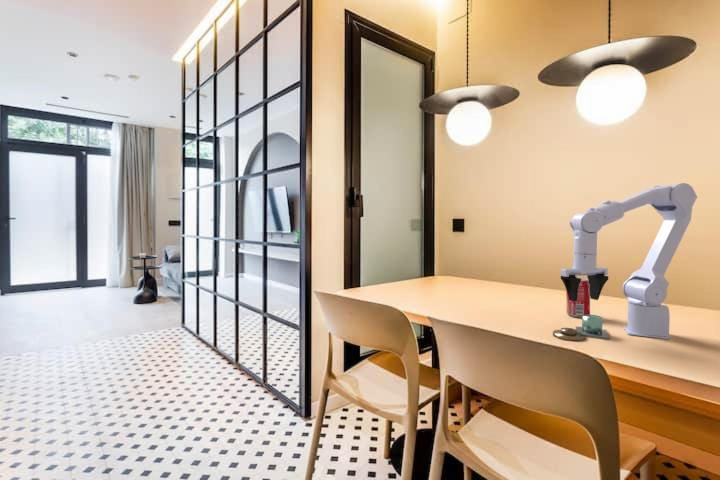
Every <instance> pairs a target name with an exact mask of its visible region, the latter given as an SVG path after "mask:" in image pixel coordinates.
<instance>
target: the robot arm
mask: <svg viewBox="0 0 720 480" xmlns="http://www.w3.org/2000/svg"><path fill="white" fill-rule="evenodd" d="M697 198H698V196H697V193H696V191H695V190H694V187H692V185H691V184H689V183H686V182H681V183H680V182H679V183H676V184H669V185H657V186H653V187H650V188H646V189H644V190H642V191H640V192H637V193H636V194H633V195H632V196H630V197H627V198H625V199H622V200H621V201H619V202H618V201H615V200H605V201H602V204H600V205H598V206H596V207H589V208H587V211H586V212H578V213H576V214H574V216H573V217H572V218H571V221H570V222H569V225H570V228H571V230H572V231H573V260H572V261H573V262H572V263H573V265H572V266H571V268H561V269H560V280H561V281H562V283H563V285H564V287H565V291H566V290H567V293H568V297H569V300H571V301H577V296H578V287H579V284H580V282H581V279H579V278H580V277H579V276H586V277H587V279H588V281H589V285H590V300H594V301H599V299H600V295H601V293H602V291H603V288H604V286H605V284H606V283H607V281H608V280H609V276H608V272H609V269H608V268H607V267H597V258H598V257H597V253H598V252H597V251H598V232H599V231H600V230H601V229H602V228H603V227H604V226H607V225H609V224H612V223H613V222H616V221H619V220H621V219H623V217H624V216H625V213H627V212H631V211H632V210H635V209H638V208H641V207H644V206H646V205H650V206H651V207H652V208H653V209H654V210H655V211H656V213H658V214H659V215H660V216H661V217H662V219H663V222H662V224H661V225H660V226H661V227H660V228H659V231H658V232H657V235H656V236H655V238H654V241H653V243H652V244H651V247H650V249H649V251H648V253H647V256H646V257H645V260H644V262H643V264H642V266H641V268H639V269H637V270H635V271H634V272H632V273H631V274H630V276H629V278H628V279H626V280H625V281H624V282H623V285H622V288H621V289H622V293H623V295H624V296H625V297H626V301H627V325H625V326H623V328H624V330H625V331H626V334H627V335H630V336H638V337H639V336H640V337H647V338H648V337H649V338H657V339H662V340H663V339H665V340H669V339H670V323H671V322H670V318H671V317H670V308H669V306H668V305H666V304H663V303H664V302H665V300H666V298H667V296H668V293H667V292H668V287H669V285H670V282H669V281H668V280H667V279H666V277H665V273H666V272H667V270H668V268H669V265H670V263H671V262H672V260H673V257H674V256H675V254H676V251H677V249H678V247H679V245H680V243H681V242H682V241H681V240H682V239H683V237H684V235H685V233H686V230H687V228H688V227H689V225H690V223H691V220H692V214H693V213H692V212H693V207H694V204H695V202H696V201H697Z"/></svg>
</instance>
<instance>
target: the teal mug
mask: <svg viewBox="0 0 720 480" xmlns="http://www.w3.org/2000/svg"><path fill="white" fill-rule="evenodd" d="M581 322H582V323H581V327H582V331H583V332H585V333H589V334H597V335H600V334H602V329H603V317H602V316H601V315H597V314H591V313H590V314H585V315H582V318H581Z"/></svg>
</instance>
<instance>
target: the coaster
mask: <svg viewBox="0 0 720 480" xmlns="http://www.w3.org/2000/svg"><path fill="white" fill-rule="evenodd" d="M575 330H577V332H580V333H582V334H584V335H585V338H593V339H600V340H601V339H602V340H610V338H611V337H610V335H609V333H608V330H607V329H603V328H602V334H600V335H597V334H589V333H585V332H583V331H582V326H575Z"/></svg>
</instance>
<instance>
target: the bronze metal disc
mask: <svg viewBox="0 0 720 480" xmlns="http://www.w3.org/2000/svg"><path fill="white" fill-rule="evenodd" d="M552 336H553V337H554V338H556V339H558V340H562V341H569V342H581V341H584V340H586V339H585V338H586V337H585V335H584V334H582V333H580V332H577V330H576V328H573V327H572V328H571V327H561V328H560V329H555V330H553V331H552Z"/></svg>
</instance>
